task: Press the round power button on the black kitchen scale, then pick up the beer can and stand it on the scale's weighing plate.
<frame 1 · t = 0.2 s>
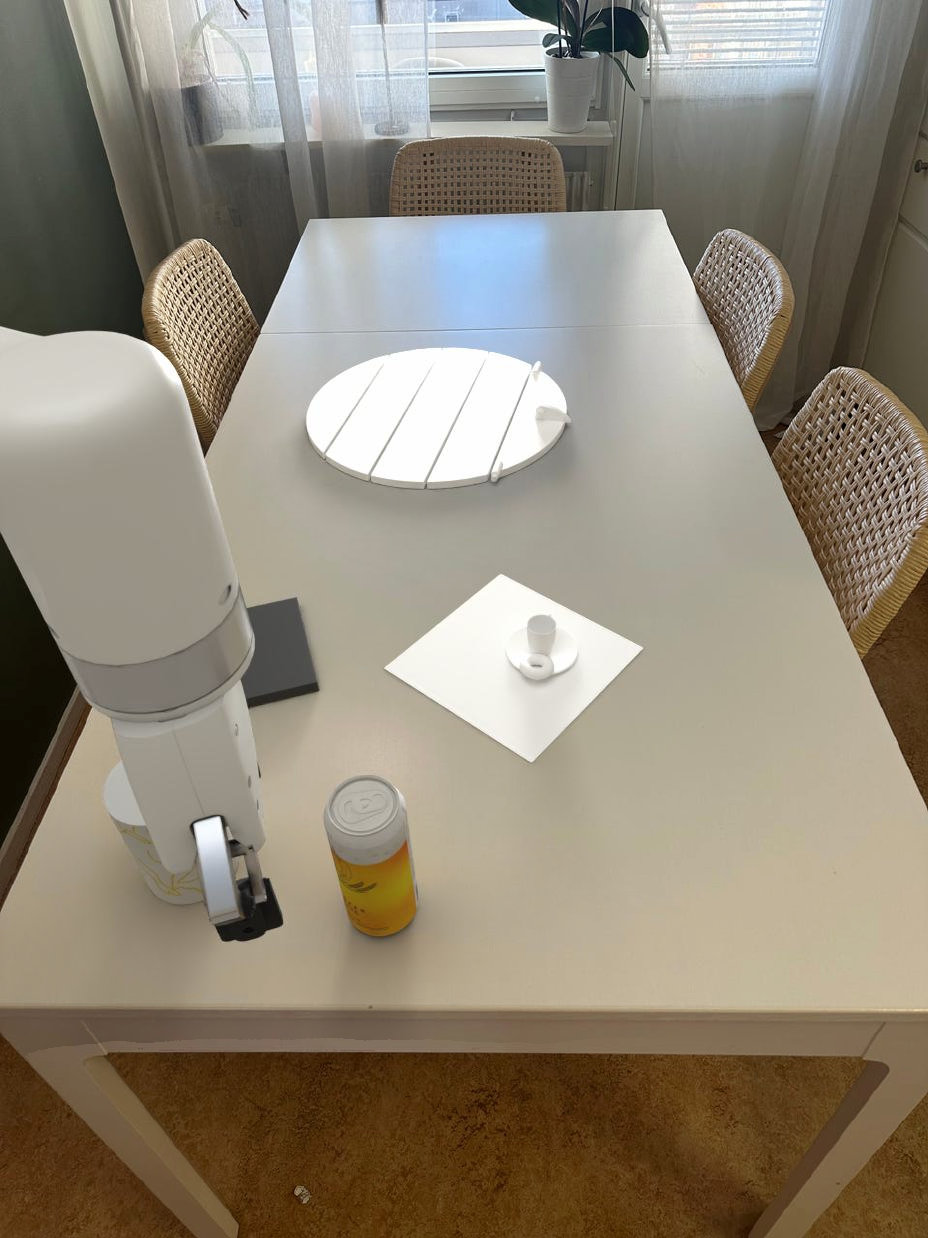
hand: (243, 851, 49), 25 cm above the table, tool pointing down, fingers open, 9 cm apart
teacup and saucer: (514, 659, 94), on the table
scale: (245, 660, 95), on the table
lazy susan: (439, 415, 131), on the table
cup: (194, 863, 77), on the table
power button: (199, 677, 88), point 3 cm above the table, slide at 0.1 cm
beer can: (383, 907, 73), on the table
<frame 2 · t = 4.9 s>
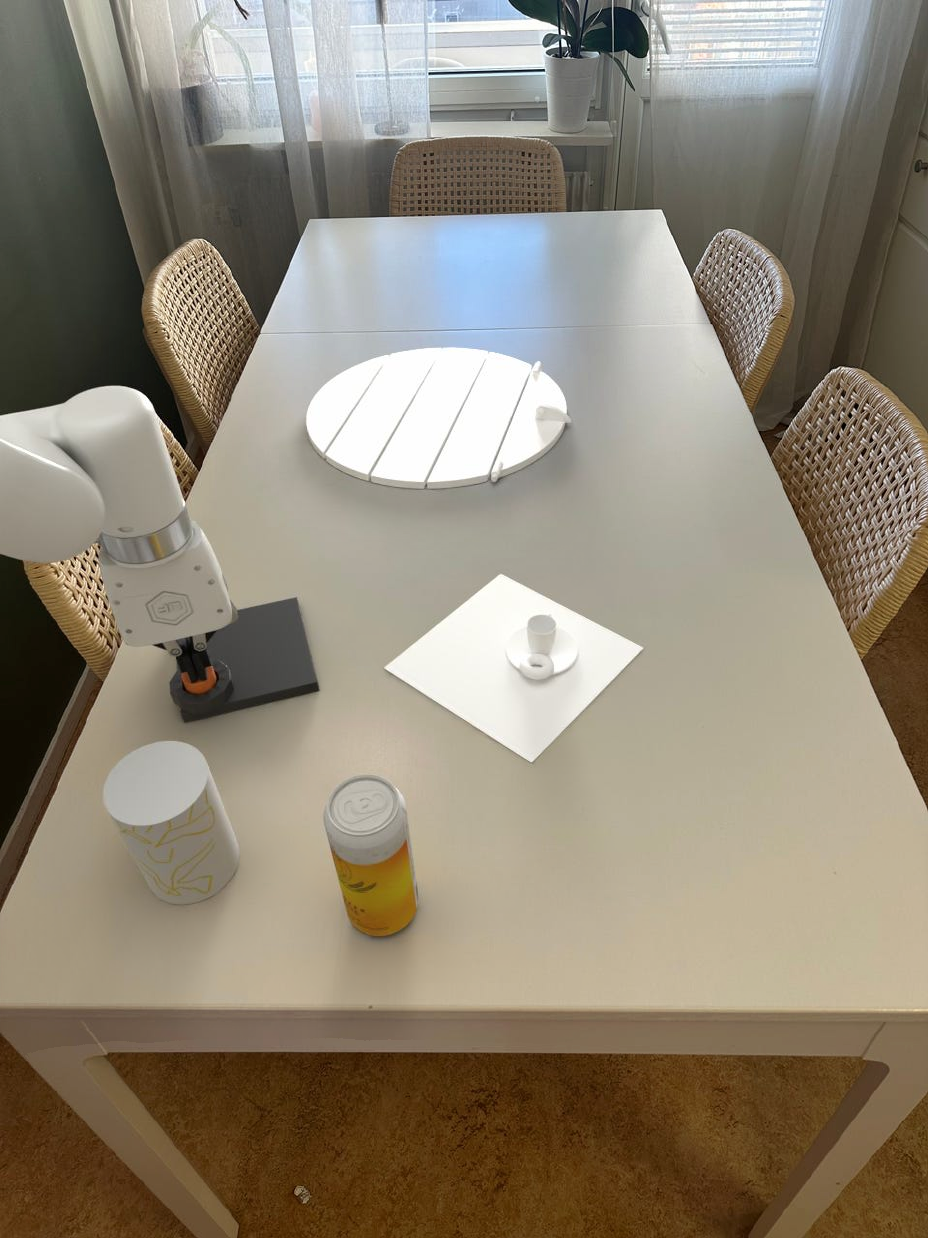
hand: (198, 671, 88), 4 cm above the table, tool pointing down, fingers closed
power button: (199, 677, 88), point 3 cm above the table, slide at 0.1 cm, touching gripper
everything else where it was.
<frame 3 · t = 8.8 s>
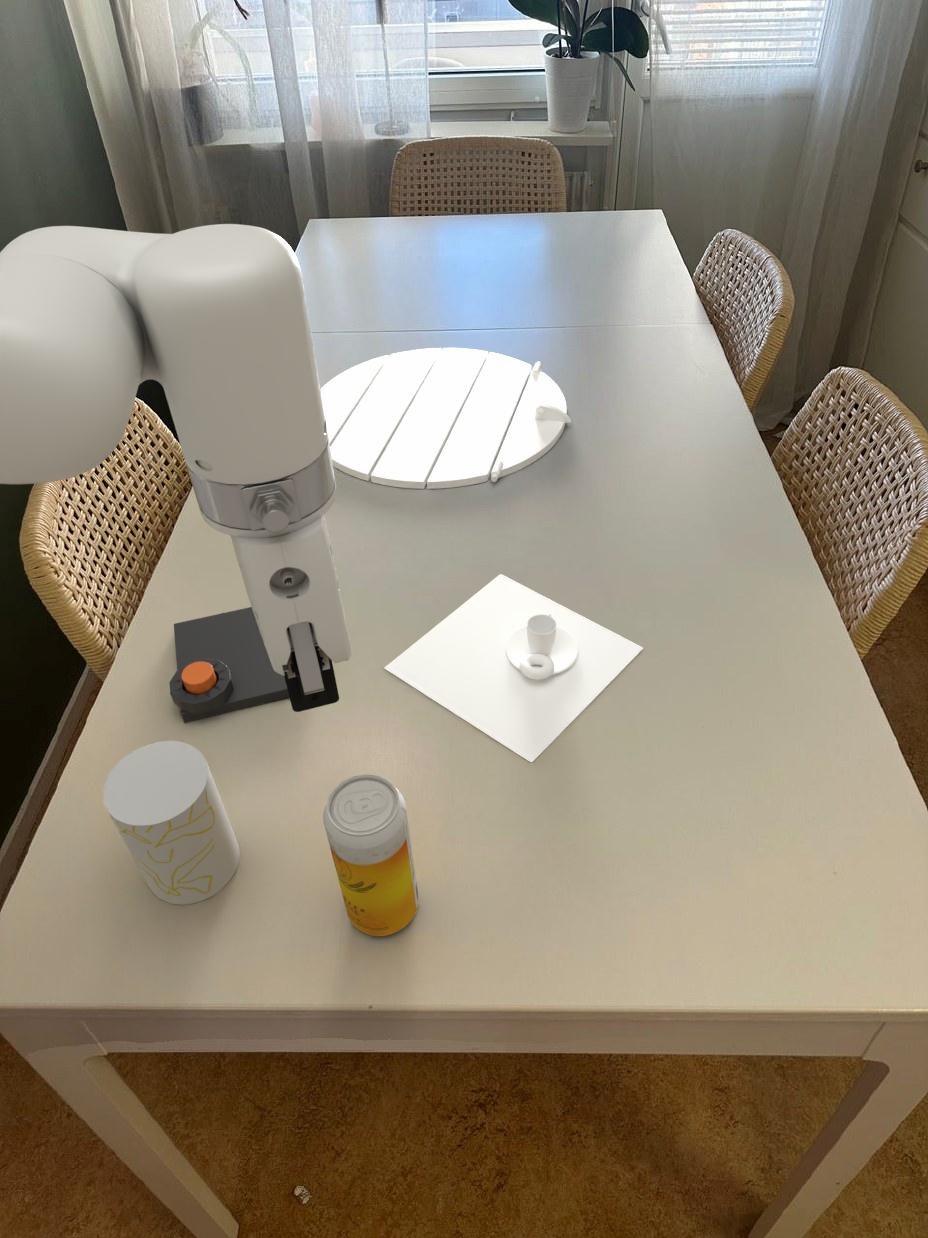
hand: (314, 698, 60), 23 cm above the table, tool pointing down, fingers closed
power button: (199, 677, 88), point 3 cm above the table, slide at 0.1 cm
everything else where it was.
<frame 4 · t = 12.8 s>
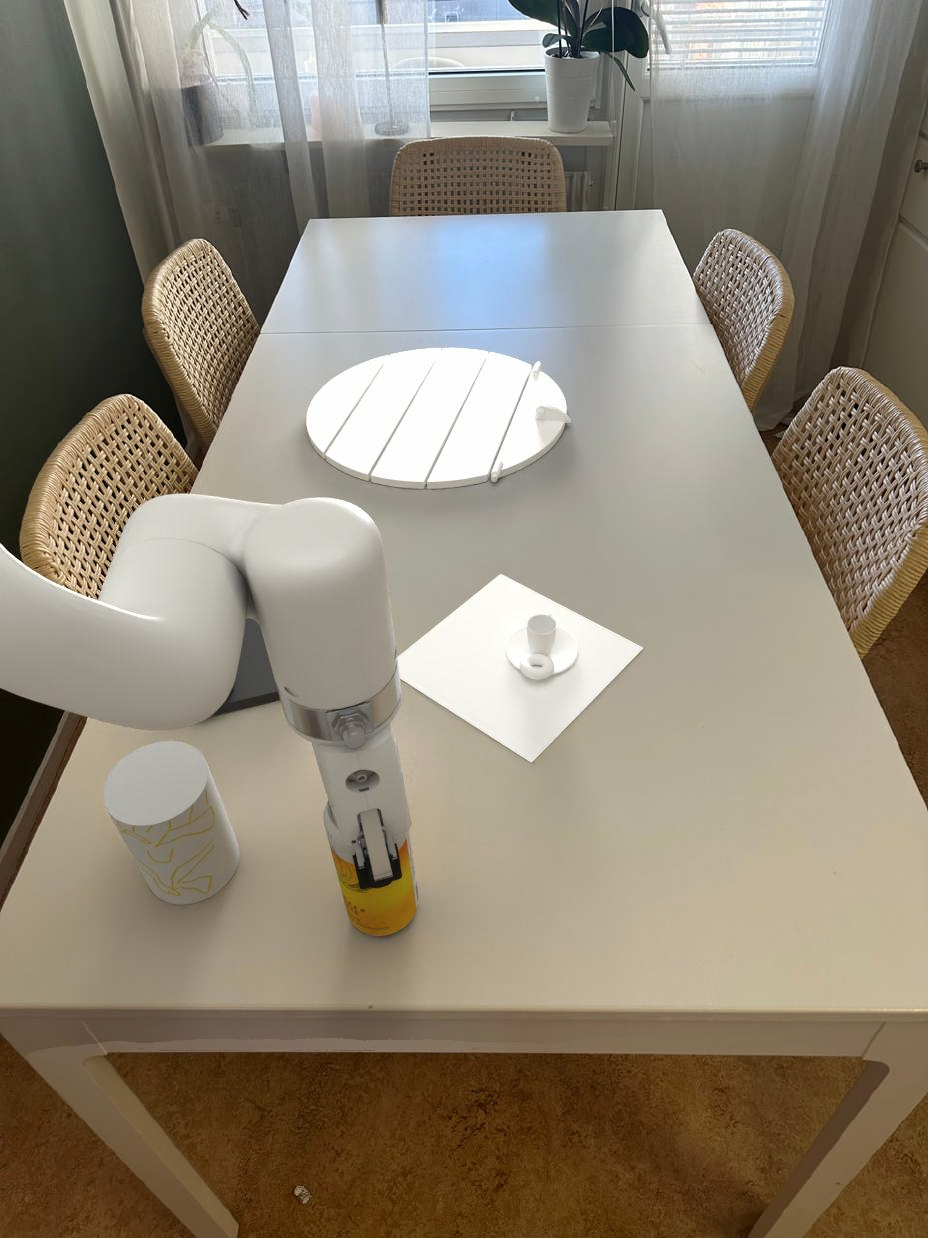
hand: (370, 841, 66), 10 cm above the table, tool pointing down, fingers closed on beer can, 6 cm apart
beer can: (383, 907, 73), on the table, touching gripper
everything else where it was.
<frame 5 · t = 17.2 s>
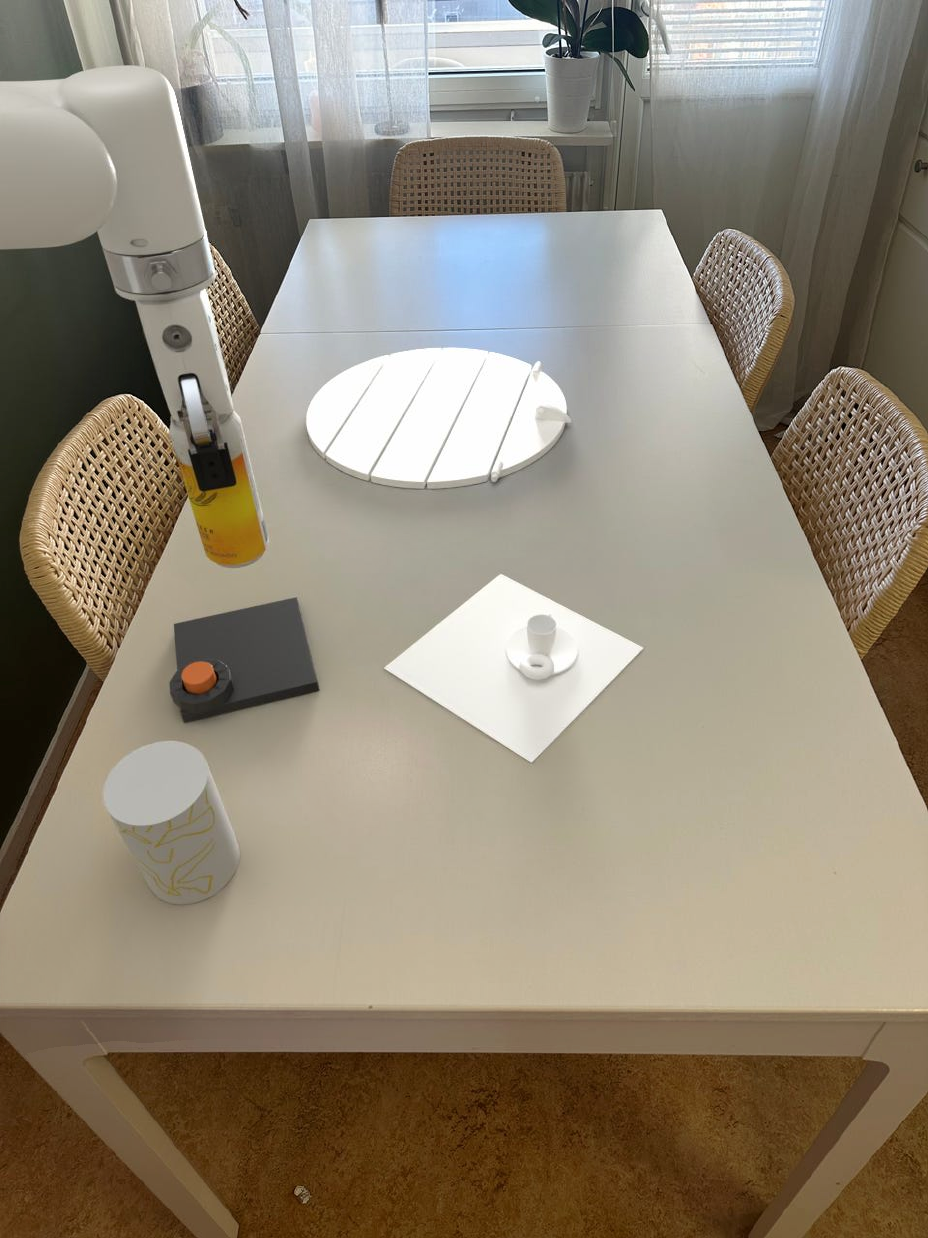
hand: (214, 464, 77), 25 cm above the table, tool pointing down, fingers closed on beer can, 6 cm apart
beer can: (239, 553, 84), point 15 cm above the table, touching gripper
everything else where it was.
when the fingers open (11 cm above the table, at t = 21.9 s): beer can stays where it is, resting on scale.
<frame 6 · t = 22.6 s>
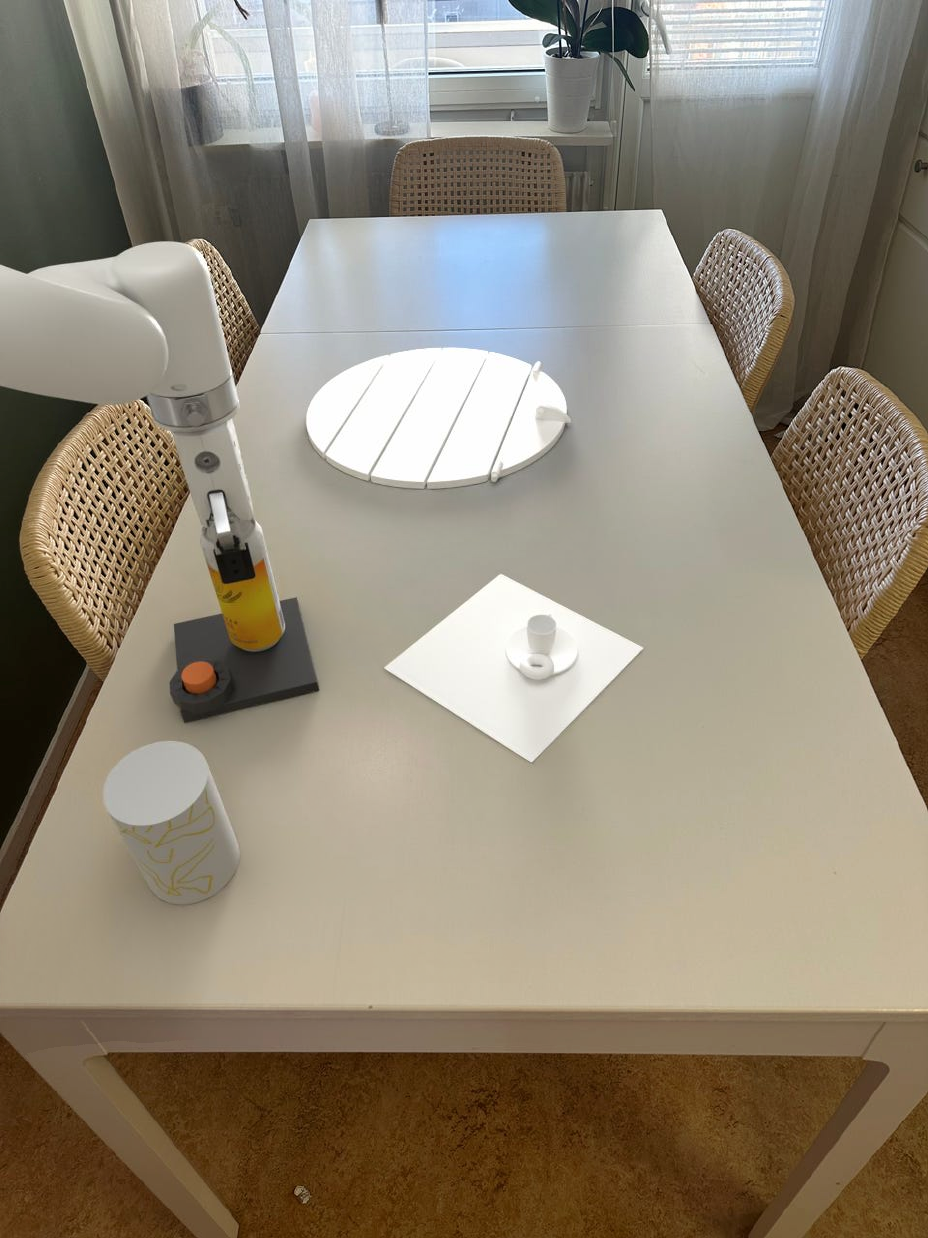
hand: (234, 549, 87), 14 cm above the table, tool pointing down, fingers open, 9 cm apart
beer can: (259, 636, 96), point 1 cm above the table, touching scale
everything else where it was.
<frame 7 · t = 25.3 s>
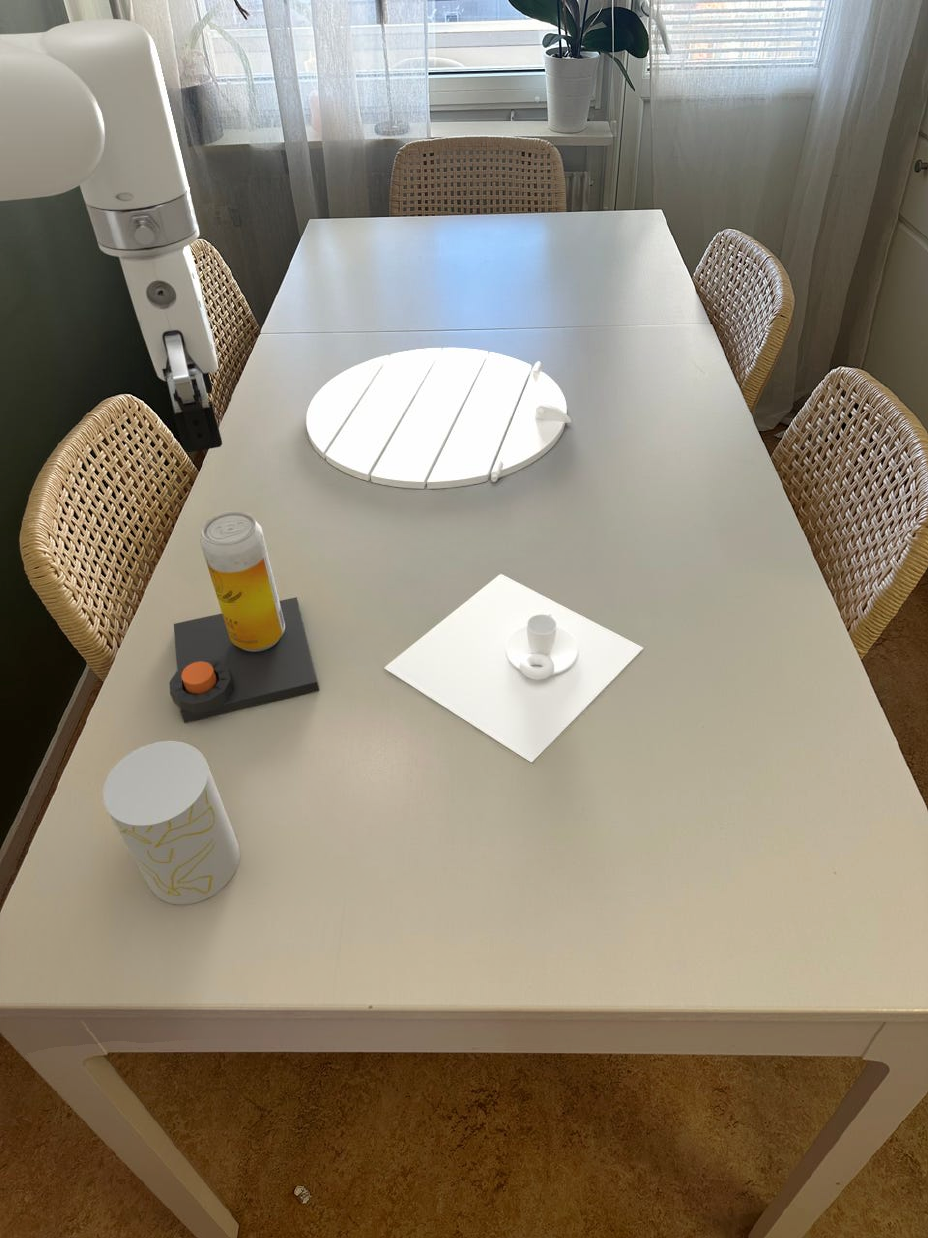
hand: (199, 419, 77), 28 cm above the table, tool pointing down, fingers open, 9 cm apart
nothing on the table moved.
at the end: power button pushed in 0.9 cm at the most during the clip, back to where it started at the end; beer can inside the target area on the scale (0.0 cm from its centre), point 1.2 cm above the scale's base; beer can tilted 0° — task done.
